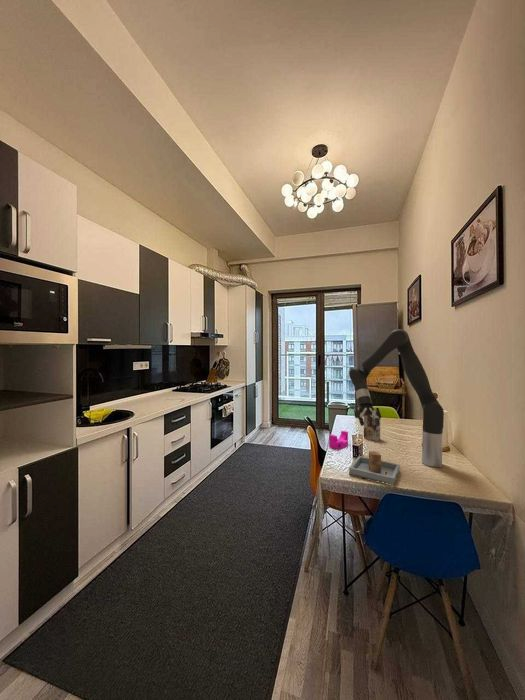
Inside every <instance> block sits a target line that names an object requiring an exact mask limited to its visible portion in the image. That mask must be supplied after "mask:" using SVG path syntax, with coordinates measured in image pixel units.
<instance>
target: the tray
mask: <svg viewBox="0 0 525 700" xmlns="http://www.w3.org/2000/svg"><path fill="white" fill-rule="evenodd" d="M400 467H401V465H400V464H398V463H395V462H394V463H393V462H388V461H383V460H381V473H373V472H370V470H369V457H365V456H361V455H358V456H357V458H356V459H355V461H353V463H352V464H351V465H350V466H349V468H348V470H349V471H348V476H351V477H355V476H356V477H355V478H359V477H360V479H363V478H365V479H364V480H367V479H370V480H369V481H371V480H374V481H373V482H375V481H379V482H384V483H388V484H391V485H394V484H395V485H396V483H397V480H398V477H399V475H400V469H401V468H400ZM385 472H387V474H386V475H384V473H385ZM398 474H399V475H398ZM396 479H397V480H396ZM379 482H378V483H379ZM395 482H396V483H395ZM391 485H390V486H391ZM395 485H394V486H395Z"/></svg>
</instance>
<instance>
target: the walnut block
mask: <svg viewBox="0 0 525 700" xmlns="http://www.w3.org/2000/svg"><path fill="white" fill-rule="evenodd" d="M368 458H369V470H370V472H373V473H381V461H382V454H381V453H380V452H379V451H377V450H376V451H374V450H373V451H368Z"/></svg>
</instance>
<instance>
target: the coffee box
mask: <svg viewBox="0 0 525 700" xmlns="http://www.w3.org/2000/svg"><path fill="white" fill-rule="evenodd" d="M372 415H373V414H372ZM363 421H364V425H363V439H367V440H370V441H375V442H378V441H379V439H380V440H381V418H380V419H379V423H380V425H379V426H378V427H376V424H375V419H374V418H372V417H371V416H364V415H363ZM377 440H378V441H377Z"/></svg>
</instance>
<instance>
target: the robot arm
mask: <svg viewBox="0 0 525 700" xmlns="http://www.w3.org/2000/svg"><path fill="white" fill-rule="evenodd" d="M396 349H397V351H398V353H399V355H400V359H401V365H402V367H403V371H404V372H405V375H406V377H407V379H408V382H409V383H410V386H412V388H413V391H415V393H416V394H417V396H418V399H419V402H420V405H421V409H422V418H423V419H422V429H421V430H422V432H421V433H422V436H421V437H422V438H421V439H422V441H421V447H422V448H421V463H422V464H423V463H424V465H425V466H429V467H432V468H442V467H443V432H444V420H445V419H444V416H445V415H444V414H445V412H444V408H443V407H442V405H441V404H440V402H439V401H438V399H437V398H436V396H435V394H434V393H433V391H432V388H431V385H430V381H429V379H428V376H427V373H426V370H425V369H424V366H423V364H422V363H421V361H420V359H419V357H418V355H417V354H416V352H415V350H414V347H413V345H412V342H411V339H410V336H409V334H408V331H406V330H404V329H402V328H401V329H399V328H398V329H394V330H392V331H391V332H390V333H389V335H388V336H386V339H385V340H384V341H383V342H382V343H381V345H379V346H378V347H377V348H376V349H375V350H374V351H373V352H372V353H371V354H369V355H368V356H367V357H366V358H365V359H364V360H363V361H362V362H361V365H362V368H359V367H356V366H354V367H351V368H350V370H349V375H348V376H349V379H350V380H351V383H352V385H353V386H354V392H355V397H356V401H357V405H358V406H357V405H356V406H354V408H353V414H354V418H356V419H358V421H359V425H360V426H361V427H362V426H363V427H364V416H371V417H372V418H374V419H375V424H376V427H378V426H379V425H380V426H381V422H380V423H379V419H380V420H381V418H382V414H381V411H380V408H379V407H376V408H374V407H373V402H372V398H371V394H370V391H369V389H368V384H367V382H366V380H367V378H368V376H369V375H370V373H371V372H372V370H373V369H375V368H376V367H377V366H378V365H379V364H380V363H381V362H382V361H383V360H384V359H385V358H386V356H388V355H389V354H390V353H391V352H392V351H394V350H396ZM359 412H360V414H359ZM372 414H373V415H372Z"/></svg>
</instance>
